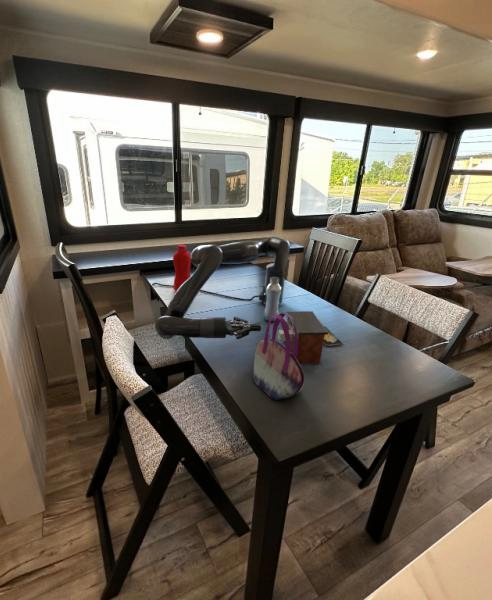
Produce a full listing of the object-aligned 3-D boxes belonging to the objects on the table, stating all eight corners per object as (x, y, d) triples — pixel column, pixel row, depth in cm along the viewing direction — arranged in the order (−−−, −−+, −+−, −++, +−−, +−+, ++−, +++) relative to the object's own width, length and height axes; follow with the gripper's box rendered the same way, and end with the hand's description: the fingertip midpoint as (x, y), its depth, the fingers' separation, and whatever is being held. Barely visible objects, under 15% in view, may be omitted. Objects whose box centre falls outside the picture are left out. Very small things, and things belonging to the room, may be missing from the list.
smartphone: (324, 325, 135) (342, 343, 122) (324, 327, 135) (342, 344, 122) (309, 326, 134) (326, 344, 120) (309, 328, 134) (325, 346, 121)
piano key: (279, 341, 113) (280, 334, 112) (277, 337, 116) (278, 329, 115) (294, 340, 113) (295, 333, 112) (292, 336, 116) (293, 329, 115)
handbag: (243, 372, 105) (247, 304, 95) (267, 363, 109) (273, 298, 99) (285, 412, 88) (296, 336, 78) (311, 400, 93) (324, 326, 83)
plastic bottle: (266, 315, 145) (270, 274, 137) (280, 318, 142) (284, 277, 134) (261, 320, 140) (264, 278, 132) (274, 324, 137) (279, 281, 129)
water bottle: (192, 293, 167) (191, 248, 157) (172, 292, 169) (170, 246, 159) (196, 287, 175) (195, 244, 165) (177, 286, 177) (176, 242, 167)
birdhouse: (294, 364, 109) (298, 332, 104) (282, 340, 125) (286, 311, 119) (322, 364, 110) (328, 332, 105) (308, 339, 125) (312, 311, 120)
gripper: (213, 327, 103) (264, 327, 104) (212, 310, 115) (258, 310, 116) (213, 346, 106) (263, 346, 107) (211, 328, 118) (256, 328, 119)
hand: (260, 327), depth 112 cm, fingers closed
